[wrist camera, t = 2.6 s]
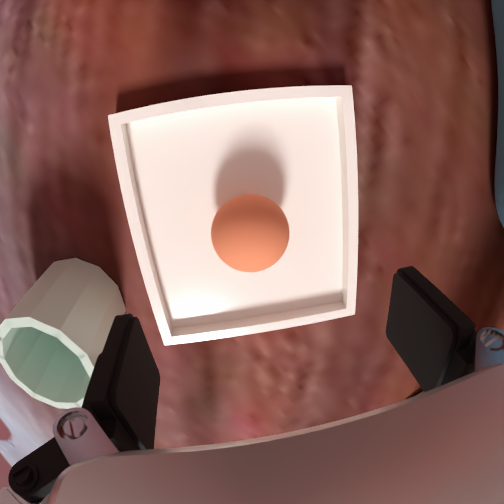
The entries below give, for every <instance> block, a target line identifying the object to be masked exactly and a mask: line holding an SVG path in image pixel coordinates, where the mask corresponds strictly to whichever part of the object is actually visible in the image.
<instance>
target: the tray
mask: <svg viewBox="0 0 504 504" xmlns="http://www.w3.org/2000/svg"><path fill="white" fill-rule="evenodd" d="M108 120H109V126H110V133H111V139H112V145H113V150H114V156H115V161H116V167H117V172H118V177H119V182H120V187H121V191H122V196H123V201H124V205H125V209H126V214H127V218H128V222H129V226H130V231H131V235H132V239H133V242H134V246H135V250H136V254H137V258H138V261H139V265H140V269H141V272H142V276H143V279H144V283H145V286H146V289H147V293H148V296H149V299H150V303H151V306H152V309H153V312H154V315H155V318H156V322H157V325H158V328H159V331H160V334H161V337H162V340H163V342H164V345H173V344H181V343H190V342H198V341H205V340H213V339H220V338H227V337H234V336H241V335H247V334H254V333H260V332H266V331H272V330H278V329H283V328H289V327H295V326H300V325H305V324H311V323H316V322H321V321H326V320H331V319H336V318H340V317H345V316H350V315H354V314H355V304H356V286H357V262H358V173H357V149H356V132H355V118H354V105H353V94H352V86H347V85H331V86H296V87H279V88H266V89H254V90H244V91H235V92H227V93H219V94H212V95H205V96H199V97H192V98H186V99H181V100H175V101H170V102H165V103H160V104H155V105H150V106H145V107H141V108H136V109H132V110H128V111H124V112H120V113H116V114H112V115H108ZM243 194H257V195H261V196H264V197H267V198H269V199H271V200H272V201H274V202H275V203H276V204H277V205H278V206H279V207H280V208H281V209H282V211H283V212H284V214H285V216H286V218H287V221H288V224H289V242H288V245H287V248H286V250H285V252H284V254H283V256H282V257H281V258H280V259H279V260H278V261H277V262H276V263H275V264H274V265H272V266H271V267H269V268H267V269H265V270H262V271H258V272H242V271H238V270H235V269H233V268H231V267H229V266H228V265H227V264H225V263H224V262H223V261H222V260H221V259H220V258H219V256H218V255H217V253H216V251H215V250H214V247H213V244H212V240H211V227H212V222H213V219H214V217H215V215H216V213H217V211H218V210H219V209H220V208H221V206H222V205H223V204H224V203H226V202H227V201H228V200H230V199H232V198H234V197H236V196H239V195H243Z"/></svg>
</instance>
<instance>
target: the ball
mask: <svg viewBox="0 0 504 504" xmlns="http://www.w3.org/2000/svg"><path fill="white" fill-rule="evenodd" d="M211 240H212V244H213V247H214V250H215V251H216V253H217V255H218V256H219V258H220V259H221V260H222V261H223V262H224V263H225V264H227V265H228V266H229V267H231V268H233V269H235V270H238V271H242V272H258V271H262V270H265V269H267V268H269V267H271V266H272V265H274V264H275V263H276V262H277V261H278V260H279V259H280V258H281V257H282V256H283V254H284V252H285V250H286V248H287V245H288V242H289V224H288V221H287V218H286V216H285V214H284V212H283V211H282V209H281V208H280V207H279V206H278V205H277V204H276V203H275V202H274V201H272V200H271V199H269V198H267V197H264V196H261V195H257V194H243V195H239V196H236V197H234V198H232V199H230V200H228V201H227V202H226V203H224V204H223V205H222V206H221V208H220V209H219V210H218V211H217V213H216V215H215V217H214V219H213V222H212V227H211Z"/></svg>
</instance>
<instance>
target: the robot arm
mask: <svg viewBox="0 0 504 504" xmlns="http://www.w3.org/2000/svg"><path fill="white" fill-rule="evenodd" d="M475 326H476V325H475V324H474V323H473V322H472V321H471V320H470V319H469V318H468V317H467V316H466V315H465V314H464V313H463V312H462V311H461V310H460V309H459V308H458V307H457V306H456V305H455V304H454V303H453V302H452V301H450V300H449V299H448V298H447V297H446V296H445V295H444V294H443V293H442V292H441V291H440V290H439V289H438V288H437V287H435V286H434V285H433V284H432V283H431V282H430V281H429V280H428V279H427V278H426V277H424V276H423V275H422V274H421V273H420V272H419V271H418V270H417V269H415V268H414V267H413V266H409V267H405V268H400V269H398V270H397V273H395V274H394V276H393V283H392V291H391V299H390V306H389V313H388V320H387V326H386V335H387V338H388V339H389V341H390V342H391V344H392V345H393V346H394V348H395V349H396V351H397V352H398V354H399V355H400V357H401V358H402V359H403V361H404V362H405V364H406V365H407V367H408V368H409V370H410V371H411V373H412V374H413V376H414V377H415V379H416V380H417V382H418V383H419V385H420V386H421V388H422V389H423V391H422V392H421V393H419V394H418V395H416V396H414V397H411V398H408V399H405V400H403V401H400V402H397V403H394V404H391V405H388V406H385V407H382V408H379V409H376V410H372V411H369V412H366V413H363V414H359V415H356V416H353V417H349V418H345V419H342V420H338V421H334V422H330V423H326V424H322V425H318V426H314V427H310V428H306V429H301V430H296V431H292V432H287V433H282V434H276V435H271V436H266V437H260V438H254V439H247V440H241V441H234V442H226V443H218V444H209V445H199V446H189V447H177V448H162V449H154V437H155V425H156V414H157V404H158V395H159V385H160V374H159V371H158V368H157V366H156V363H155V361H154V358H153V356H152V353H151V351H150V348H149V346H148V343H147V340H146V338H145V335H144V332H143V330H142V327H141V324H140V321H139V319H138V318H137V317H133V315H132V314H123V315H116V316H115V318H114V320H113V323H112V326H111V329H110V331H109V334H108V337H107V340H106V343H105V345H104V348H103V351H102V353H100V354H99V355H98V357H97V360H96V363H95V366H94V369H93V372H92V375H91V378H90V381H89V384H88V387H87V391H86V394H85V397H84V400H83V404H82V407H81V408H80V407H75V408H70V409H67V410H65V411H64V412H62V413H61V414H60V415H59V416H58V417H57V418H56V420H55V422H54V424H53V434H54V438H52V439H51V440H49V441H48V442H47V443H45V444H44V445H42V446H41V447H39V448H38V449H36V450H35V451H33V452H32V453H30V454H29V455H27V456H26V457H24V458H23V459H21V460H20V461H18V462H17V463H16V464H15V465H14V466H13V467H12V469H11V470H10V473H9V485H10V486H9V487H8V488H5V487H3V488H2V489H1V490H0V504H504V331H502V330H500V329H498V328H495V327H485V328H482V329H480V330H479V331H478V332H476V331H475V330H474V329H475Z"/></svg>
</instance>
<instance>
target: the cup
mask: <svg viewBox="0 0 504 504" xmlns="http://www.w3.org/2000/svg"><path fill="white" fill-rule="evenodd" d="M125 310H126V308H125V305H124V302H123V299H122V296H121V293H120V290H119V287H118V285H117V284H116V283H115V282H114V281H113V280H112V279H111V278H110V277H109V276H108V275H107V274H106V273H105V272H104V271H103V270H102V269H101V268H100V267H99V266H96V265H93V264H91V263H88V262H85V261H83V260H80V259H78V258H71V259H65V260H60V261H54V262H53V263H52V264H51V265H50V267H49V268H48V269H47V270H46V271H45V272H44V273H43V274H42V275H41V277H40V278H39V279H38V280H37V281H36V282H35V283H34V285H33V286H32V287H31V288H30V289H29V290H28V292H27V293H26V294H25V295H24V296H23V297H22V299H21V300H20V301H19V302H18V303H17V305H16V306H15V307H14V308H13V310H12V311H11V312H10V313H9V315H8V316H7V317H6V318H5V320H4V321H3V322H2V324H1V325H0V362H1V364H2V366H3V367H4V369H5V370H6V372H7V374H8V375H9V377H10V378H11V379H12V380H13V381H14V382H15V383H16V384H17V385H19V386H20V387H21V388H22V389H23V390H24V391H26V392H27V393H28V394H29V395H31V396H32V397H33V398H35V399H38V400H40V401H42V402H45V403H47V404H49V405H52V406H54V407H57V408H65V409H70V408H75V407H80V408H81V407H82V404H83V400H84V397H85V394H86V391H87V387H88V384H89V381H90V378H91V375H92V372H93V369H94V366H95V363H96V360H97V357H98V355H99V354H100V353H102V351H103V348H104V345H105V343H106V340H107V337H108V334H109V331H110V329H111V326H112V323H113V320H114V318H115V316H116V315H123V314H125Z"/></svg>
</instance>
